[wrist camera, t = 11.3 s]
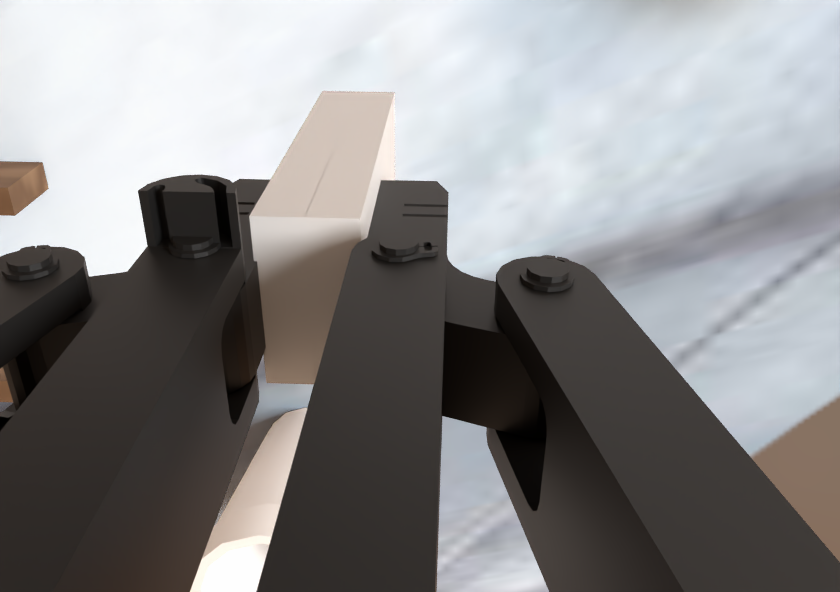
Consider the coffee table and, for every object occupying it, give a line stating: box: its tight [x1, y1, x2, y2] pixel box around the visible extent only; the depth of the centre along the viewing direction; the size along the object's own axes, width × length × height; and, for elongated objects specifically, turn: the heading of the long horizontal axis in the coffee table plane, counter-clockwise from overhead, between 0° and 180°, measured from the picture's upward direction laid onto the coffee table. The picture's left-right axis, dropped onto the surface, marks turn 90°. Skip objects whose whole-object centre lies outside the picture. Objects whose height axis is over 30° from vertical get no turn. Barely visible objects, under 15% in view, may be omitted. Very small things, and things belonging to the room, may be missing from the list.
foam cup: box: [190, 408, 307, 592], centre depth 49 cm, size 10×9×13 cm
